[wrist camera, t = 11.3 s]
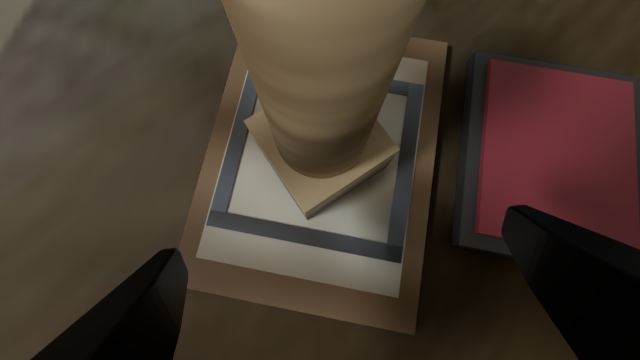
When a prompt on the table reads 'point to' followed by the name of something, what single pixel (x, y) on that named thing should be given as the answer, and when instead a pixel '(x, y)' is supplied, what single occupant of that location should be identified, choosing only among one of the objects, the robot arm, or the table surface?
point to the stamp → (322, 88)
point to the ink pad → (546, 149)
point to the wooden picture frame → (328, 225)
